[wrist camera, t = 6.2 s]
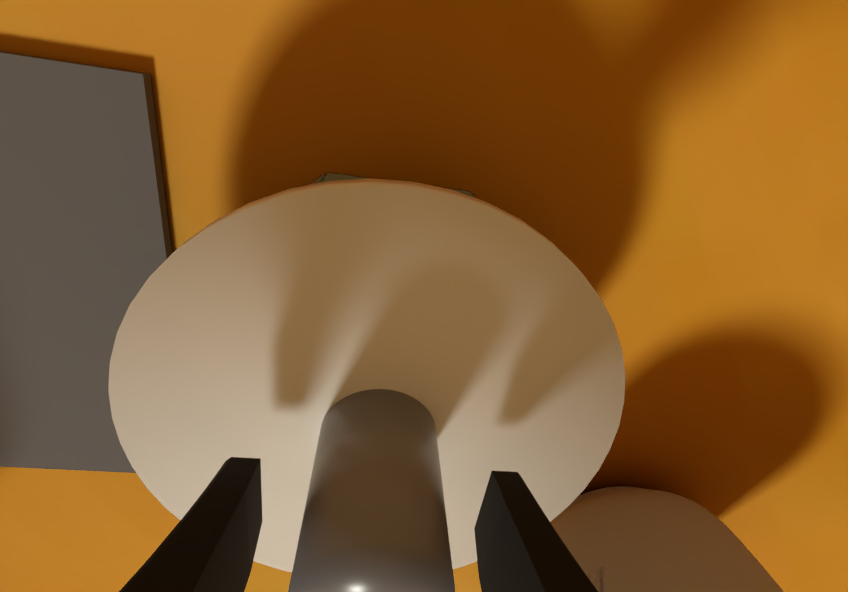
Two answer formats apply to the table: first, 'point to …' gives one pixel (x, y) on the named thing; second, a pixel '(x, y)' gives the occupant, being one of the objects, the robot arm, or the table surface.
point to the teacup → (656, 544)
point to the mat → (71, 251)
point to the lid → (368, 376)
